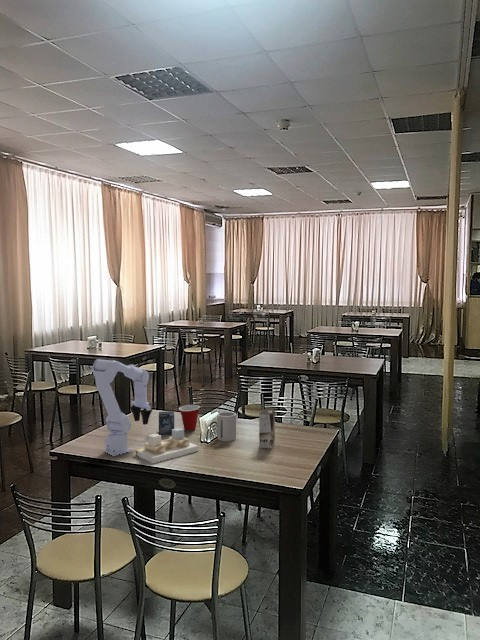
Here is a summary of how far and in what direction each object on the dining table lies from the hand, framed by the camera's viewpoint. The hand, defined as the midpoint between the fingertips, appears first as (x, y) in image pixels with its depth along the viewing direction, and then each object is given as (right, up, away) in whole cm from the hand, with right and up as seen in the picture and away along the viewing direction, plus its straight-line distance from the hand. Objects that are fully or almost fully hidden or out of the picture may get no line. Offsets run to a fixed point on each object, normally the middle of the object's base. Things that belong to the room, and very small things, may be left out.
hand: (141, 422), depth 250 cm
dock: (+15, -11, -16) cm, 24 cm away
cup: (+41, -9, +6) cm, 42 cm away
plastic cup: (+21, -8, +21) cm, 31 cm away
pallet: (+15, -8, -16) cm, 23 cm away
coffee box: (+60, -10, -5) cm, 61 cm away
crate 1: (+10, -6, -20) cm, 23 cm away
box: (+10, -8, +15) cm, 20 cm away
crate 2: (+19, -5, -11) cm, 23 cm away
